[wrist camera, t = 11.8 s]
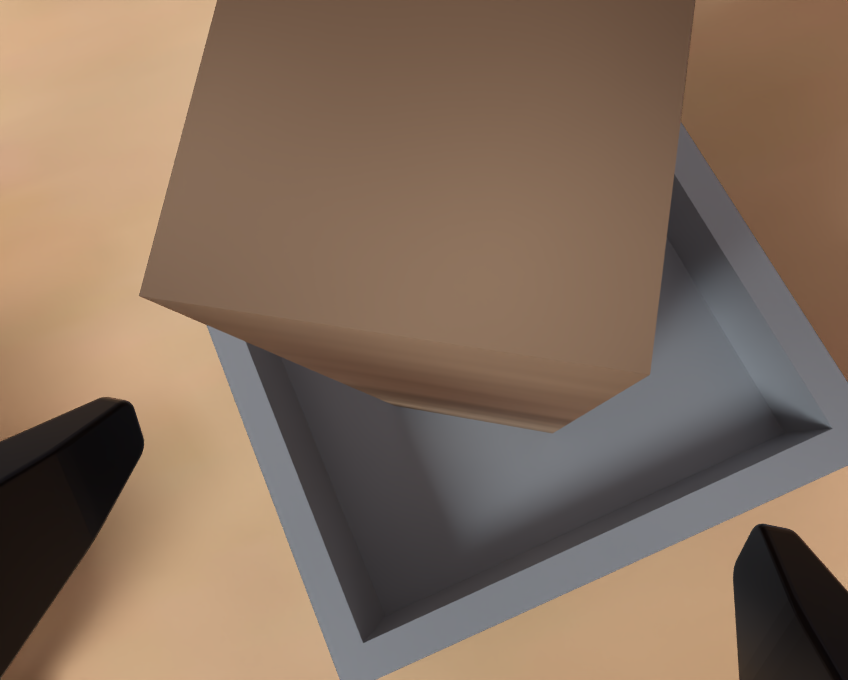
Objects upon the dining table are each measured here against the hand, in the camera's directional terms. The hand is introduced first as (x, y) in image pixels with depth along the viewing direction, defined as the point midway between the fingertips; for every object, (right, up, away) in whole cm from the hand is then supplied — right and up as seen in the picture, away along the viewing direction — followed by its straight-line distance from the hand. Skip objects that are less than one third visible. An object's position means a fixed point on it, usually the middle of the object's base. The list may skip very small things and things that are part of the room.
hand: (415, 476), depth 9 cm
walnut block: (+2, +2, +8) cm, 9 cm away
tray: (+2, +2, +9) cm, 9 cm away
